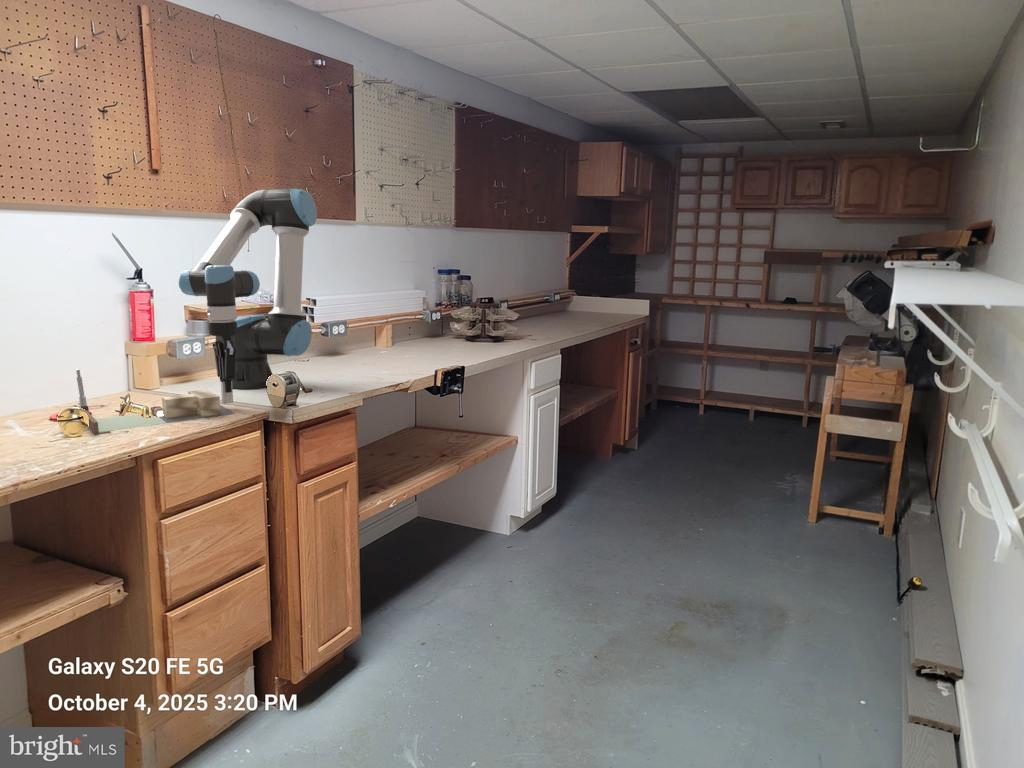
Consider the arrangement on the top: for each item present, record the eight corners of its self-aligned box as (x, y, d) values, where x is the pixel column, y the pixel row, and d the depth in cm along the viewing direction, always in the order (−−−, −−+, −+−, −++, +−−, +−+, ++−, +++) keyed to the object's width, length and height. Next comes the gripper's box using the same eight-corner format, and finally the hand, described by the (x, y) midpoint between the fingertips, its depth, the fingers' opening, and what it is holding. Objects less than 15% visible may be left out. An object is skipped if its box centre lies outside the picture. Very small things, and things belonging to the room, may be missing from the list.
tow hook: (56, 424, 197) (93, 417, 204) (47, 376, 194) (86, 370, 201) (46, 419, 203) (83, 412, 209) (38, 373, 200) (75, 367, 206)
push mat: (217, 404, 220) (217, 394, 219) (235, 415, 207) (235, 404, 207) (83, 421, 198) (82, 410, 198) (94, 434, 186) (93, 422, 185)
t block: (207, 406, 216) (206, 389, 215) (220, 414, 207) (219, 396, 206) (159, 412, 208) (158, 394, 207) (170, 420, 199) (169, 402, 198)
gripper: (201, 319, 211) (207, 400, 216) (216, 323, 201) (221, 408, 206) (228, 318, 216) (233, 397, 220) (243, 322, 206) (248, 405, 210)
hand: (227, 402), depth 213 cm, fingers closed
